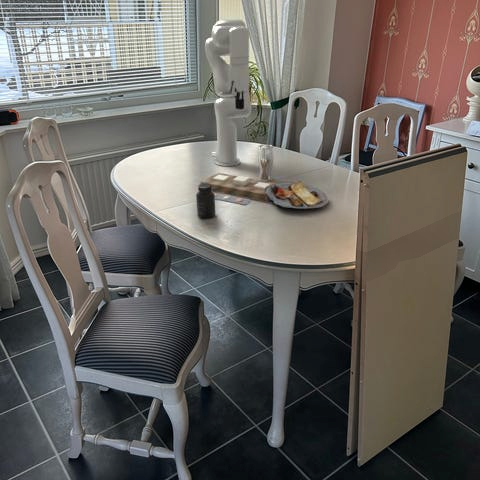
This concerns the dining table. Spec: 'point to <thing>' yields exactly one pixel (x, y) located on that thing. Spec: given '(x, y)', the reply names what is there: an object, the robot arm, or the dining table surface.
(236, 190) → the button board
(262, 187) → the right button
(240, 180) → the middle button
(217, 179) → the left button
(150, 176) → the dining table surface
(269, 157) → the beer glass
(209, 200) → the supplement bottle
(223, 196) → the pattern card
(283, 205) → the food plate
